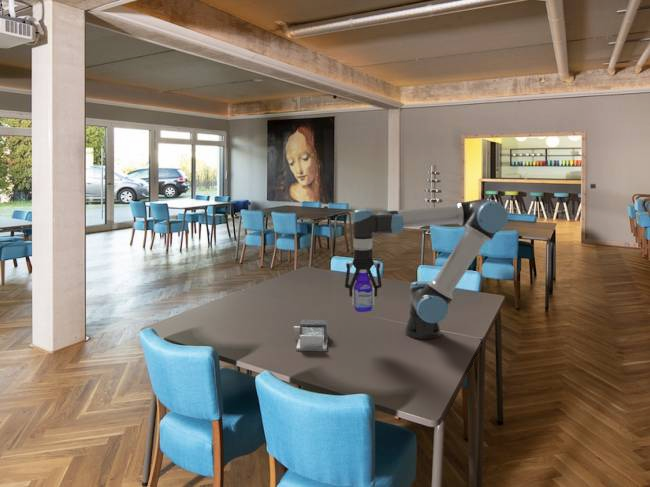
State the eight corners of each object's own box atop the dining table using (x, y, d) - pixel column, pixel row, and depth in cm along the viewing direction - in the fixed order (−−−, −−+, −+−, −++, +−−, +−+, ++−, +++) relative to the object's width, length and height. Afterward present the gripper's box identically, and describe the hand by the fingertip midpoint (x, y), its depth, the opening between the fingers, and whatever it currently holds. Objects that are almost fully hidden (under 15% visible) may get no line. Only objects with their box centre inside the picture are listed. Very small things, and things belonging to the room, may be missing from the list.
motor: (328, 335, 208) (328, 320, 207) (327, 340, 202) (327, 324, 201) (294, 335, 209) (294, 319, 208) (293, 340, 203) (292, 324, 202)
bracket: (327, 341, 202) (327, 327, 201) (326, 351, 191) (326, 336, 190) (298, 340, 202) (298, 326, 201) (296, 350, 192) (296, 335, 191)
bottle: (357, 313, 193) (357, 270, 190) (352, 309, 198) (352, 267, 196) (374, 311, 195) (374, 269, 192) (369, 308, 200) (369, 266, 198)
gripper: (387, 246, 196) (387, 301, 199) (337, 247, 197) (338, 301, 200) (389, 249, 188) (389, 306, 192) (337, 250, 189) (338, 307, 193)
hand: (363, 304), depth 196 cm, fingers closed on bottle, 7 cm apart
